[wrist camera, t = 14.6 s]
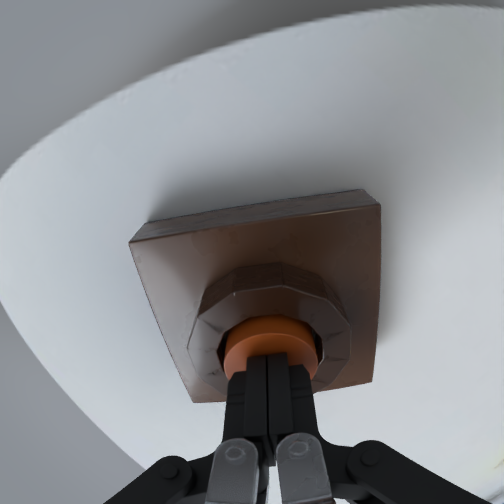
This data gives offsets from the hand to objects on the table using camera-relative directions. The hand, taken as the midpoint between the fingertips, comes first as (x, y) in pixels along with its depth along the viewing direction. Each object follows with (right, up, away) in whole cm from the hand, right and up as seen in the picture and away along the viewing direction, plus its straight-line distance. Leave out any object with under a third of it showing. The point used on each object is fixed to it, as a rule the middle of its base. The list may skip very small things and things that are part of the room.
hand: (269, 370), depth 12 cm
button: (0, +1, +2) cm, 2 cm away
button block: (0, +2, +4) cm, 5 cm away
